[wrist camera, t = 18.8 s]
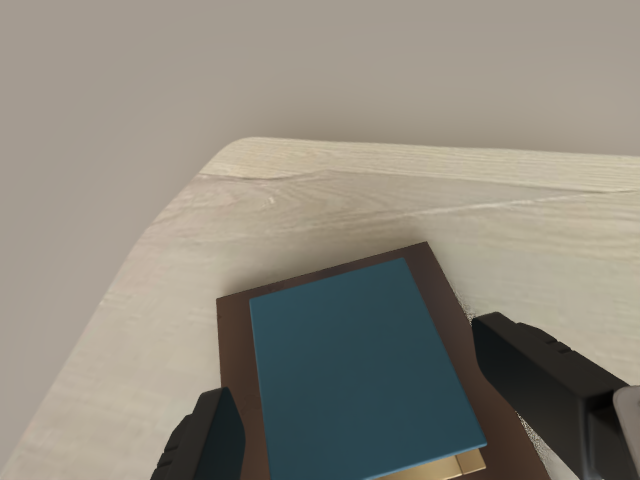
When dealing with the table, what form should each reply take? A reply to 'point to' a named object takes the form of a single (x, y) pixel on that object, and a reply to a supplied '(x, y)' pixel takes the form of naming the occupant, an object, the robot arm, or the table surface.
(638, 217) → the table surface
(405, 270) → the post block
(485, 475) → the square wooden socket base
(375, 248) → the table surface
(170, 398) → the table surface
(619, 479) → the robot arm
